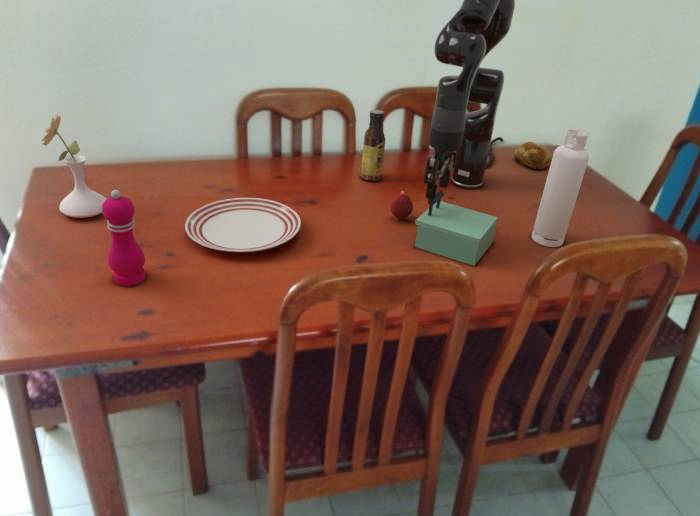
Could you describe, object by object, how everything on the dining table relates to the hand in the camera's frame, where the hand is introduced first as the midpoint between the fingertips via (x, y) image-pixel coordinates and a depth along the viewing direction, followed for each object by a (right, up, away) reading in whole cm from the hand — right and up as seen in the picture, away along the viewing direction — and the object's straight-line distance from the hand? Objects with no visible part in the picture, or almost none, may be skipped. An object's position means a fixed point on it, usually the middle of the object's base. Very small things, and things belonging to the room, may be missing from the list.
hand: (437, 192), depth 144 cm
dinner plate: (-47, -10, +2) cm, 48 cm away
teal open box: (+5, -12, +5) cm, 14 cm away
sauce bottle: (-15, +11, +36) cm, 40 cm away
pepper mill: (-67, -21, -18) cm, 73 cm away
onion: (-8, -5, +14) cm, 17 cm away
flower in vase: (-87, -4, +5) cm, 87 cm away
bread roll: (+39, +19, +55) cm, 70 cm away
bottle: (+30, -10, +11) cm, 33 cm away
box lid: (+5, -7, +1) cm, 9 cm away
